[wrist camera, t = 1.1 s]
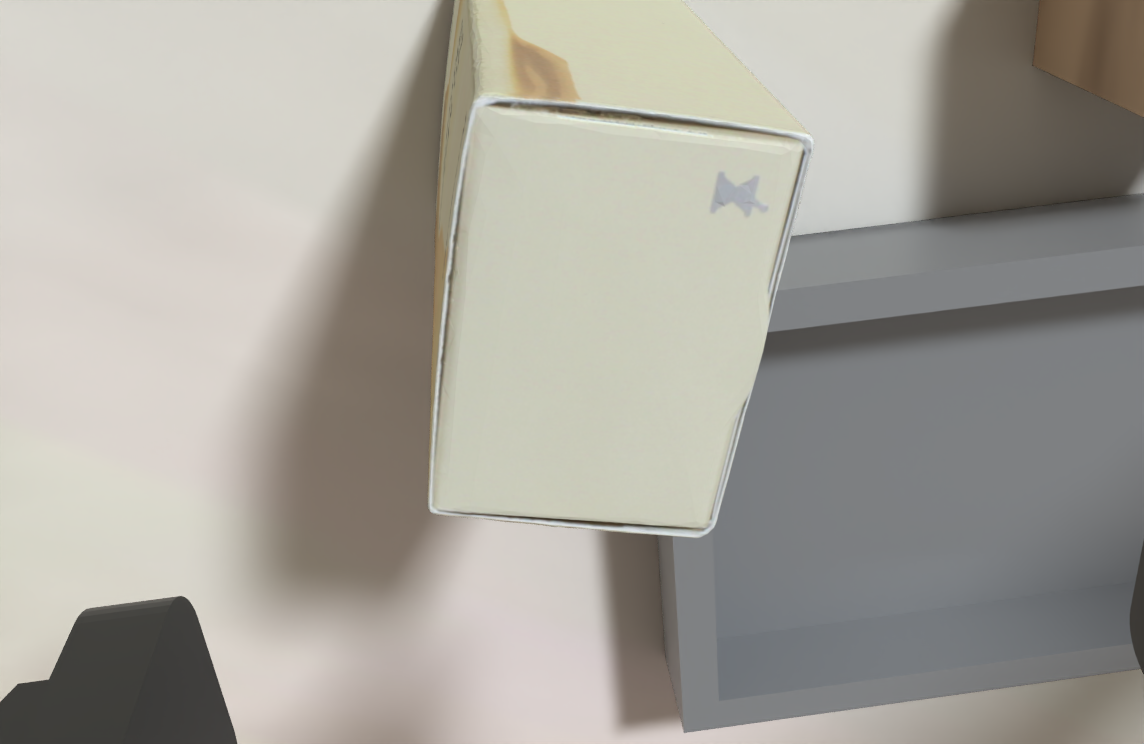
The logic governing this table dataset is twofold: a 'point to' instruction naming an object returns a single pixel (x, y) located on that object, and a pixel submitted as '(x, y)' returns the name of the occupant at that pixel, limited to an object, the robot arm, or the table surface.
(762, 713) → the collection tray
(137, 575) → the table surface
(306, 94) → the table surface
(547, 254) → the skincare box
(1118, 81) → the walnut cube
